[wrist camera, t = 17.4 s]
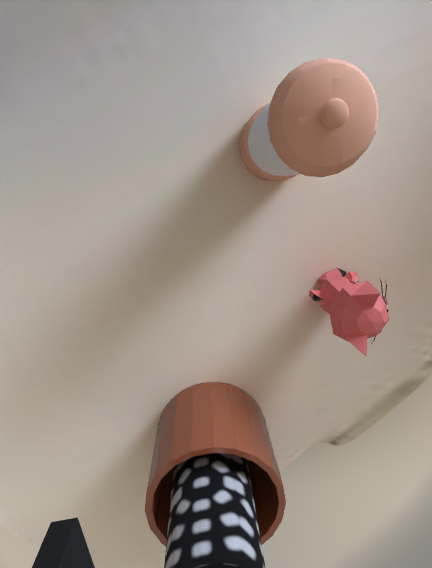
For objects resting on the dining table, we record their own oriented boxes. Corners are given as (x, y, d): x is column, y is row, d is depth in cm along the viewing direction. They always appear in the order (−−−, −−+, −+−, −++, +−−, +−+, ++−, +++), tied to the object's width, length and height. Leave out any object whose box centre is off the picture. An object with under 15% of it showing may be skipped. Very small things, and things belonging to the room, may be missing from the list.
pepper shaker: (225, 140, 40) (248, 102, 21) (279, 92, 39) (353, 8, 20) (267, 194, 41) (323, 203, 23) (321, 149, 40) (424, 121, 22)
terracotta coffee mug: (147, 393, 47) (130, 462, 35) (255, 373, 47) (274, 435, 35) (178, 511, 52) (172, 605, 40) (277, 492, 52) (299, 581, 40)
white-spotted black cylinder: (186, 468, 49) (178, 655, 30) (168, 415, 47) (146, 578, 27) (248, 453, 49) (281, 630, 29) (233, 398, 46) (257, 551, 27)
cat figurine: (350, 319, 45) (401, 365, 34) (294, 314, 45) (327, 359, 33) (361, 262, 44) (420, 290, 32) (304, 256, 43) (342, 283, 32)
